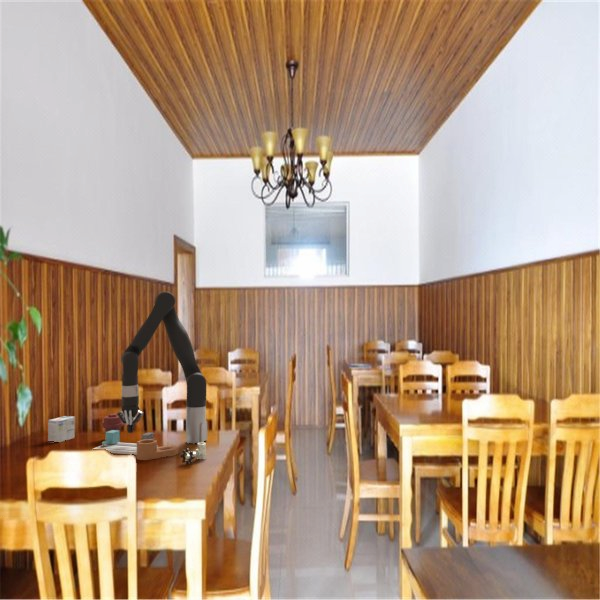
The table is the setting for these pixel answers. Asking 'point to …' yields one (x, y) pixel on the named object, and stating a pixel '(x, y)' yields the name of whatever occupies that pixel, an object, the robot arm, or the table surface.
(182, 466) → the table surface
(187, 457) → the valve
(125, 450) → the gauge board
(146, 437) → the fixed leg
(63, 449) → the table surface
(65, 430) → the light bulb box
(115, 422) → the mechanical component
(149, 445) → the bracket
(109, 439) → the sliding leg
